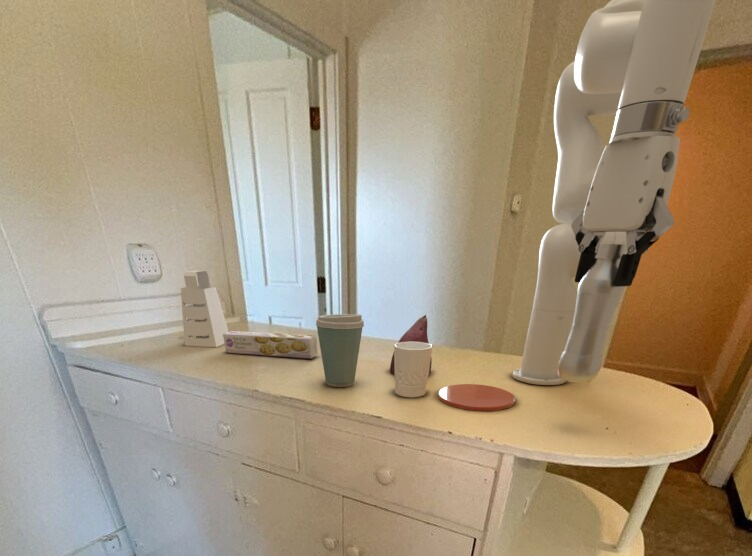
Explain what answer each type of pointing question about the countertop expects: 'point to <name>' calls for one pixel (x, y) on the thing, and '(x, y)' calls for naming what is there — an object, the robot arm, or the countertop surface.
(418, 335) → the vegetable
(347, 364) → the disposable coffee cup
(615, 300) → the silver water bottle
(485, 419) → the countertop surface
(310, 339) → the box
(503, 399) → the plate
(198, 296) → the grater
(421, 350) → the white cup
